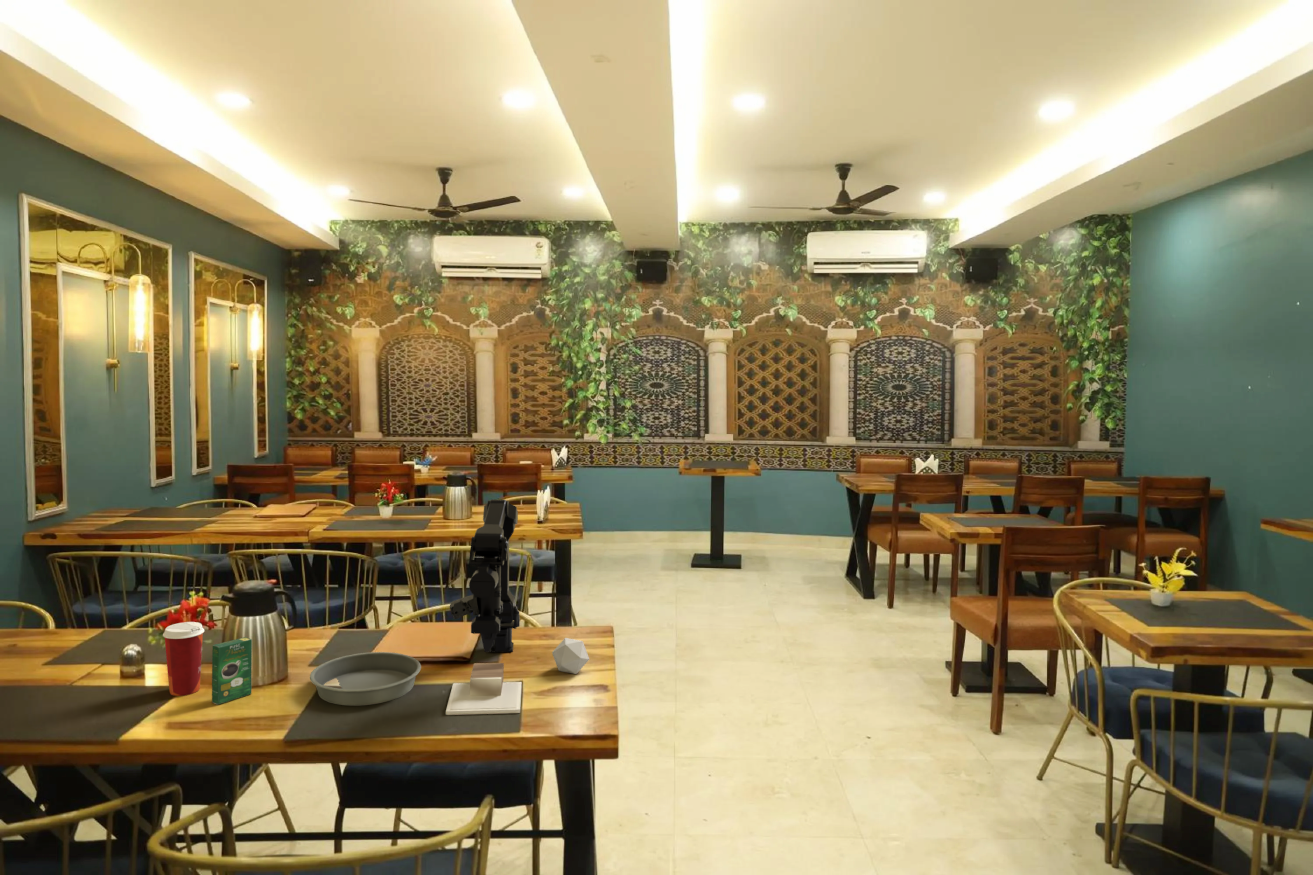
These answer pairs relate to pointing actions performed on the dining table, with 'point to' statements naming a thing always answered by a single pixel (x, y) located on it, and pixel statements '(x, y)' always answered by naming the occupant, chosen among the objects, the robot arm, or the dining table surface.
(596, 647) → the dining table surface
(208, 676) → the dining table surface
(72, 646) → the dining table surface
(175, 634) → the coffee cup
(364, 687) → the cake pan
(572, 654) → the die
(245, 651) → the coffee box
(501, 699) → the shallow cream tray
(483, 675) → the walnut block
